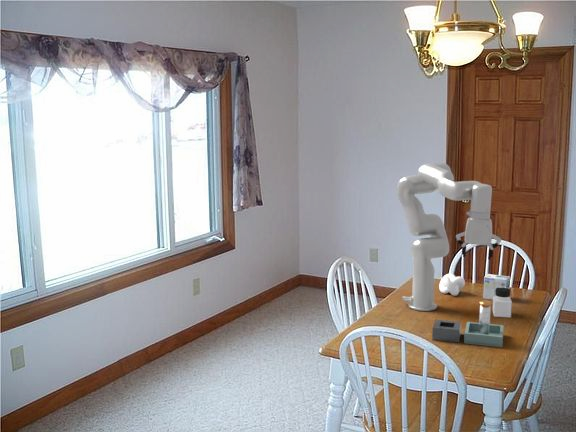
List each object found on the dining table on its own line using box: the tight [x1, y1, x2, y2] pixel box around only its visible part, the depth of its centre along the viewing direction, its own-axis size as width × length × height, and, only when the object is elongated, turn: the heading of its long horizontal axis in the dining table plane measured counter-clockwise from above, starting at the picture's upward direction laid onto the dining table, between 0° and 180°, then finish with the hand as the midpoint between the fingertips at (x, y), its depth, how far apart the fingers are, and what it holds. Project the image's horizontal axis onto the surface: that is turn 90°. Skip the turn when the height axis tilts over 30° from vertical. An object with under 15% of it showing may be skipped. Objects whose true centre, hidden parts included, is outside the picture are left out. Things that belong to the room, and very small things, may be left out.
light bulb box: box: [482, 273, 511, 301], centre depth 307 cm, size 11×7×11 cm, turn 57°
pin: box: [478, 299, 493, 335], centre depth 255 cm, size 5×5×14 cm
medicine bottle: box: [492, 287, 513, 319], centre depth 284 cm, size 7×7×12 cm
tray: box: [463, 321, 505, 348], centre depth 256 cm, size 14×14×4 cm
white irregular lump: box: [438, 273, 466, 297], centre depth 316 cm, size 11×12×9 cm
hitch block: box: [431, 319, 462, 344], centre depth 258 cm, size 10×10×5 cm
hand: (476, 257), depth 261 cm, fingers open, 9 cm apart
